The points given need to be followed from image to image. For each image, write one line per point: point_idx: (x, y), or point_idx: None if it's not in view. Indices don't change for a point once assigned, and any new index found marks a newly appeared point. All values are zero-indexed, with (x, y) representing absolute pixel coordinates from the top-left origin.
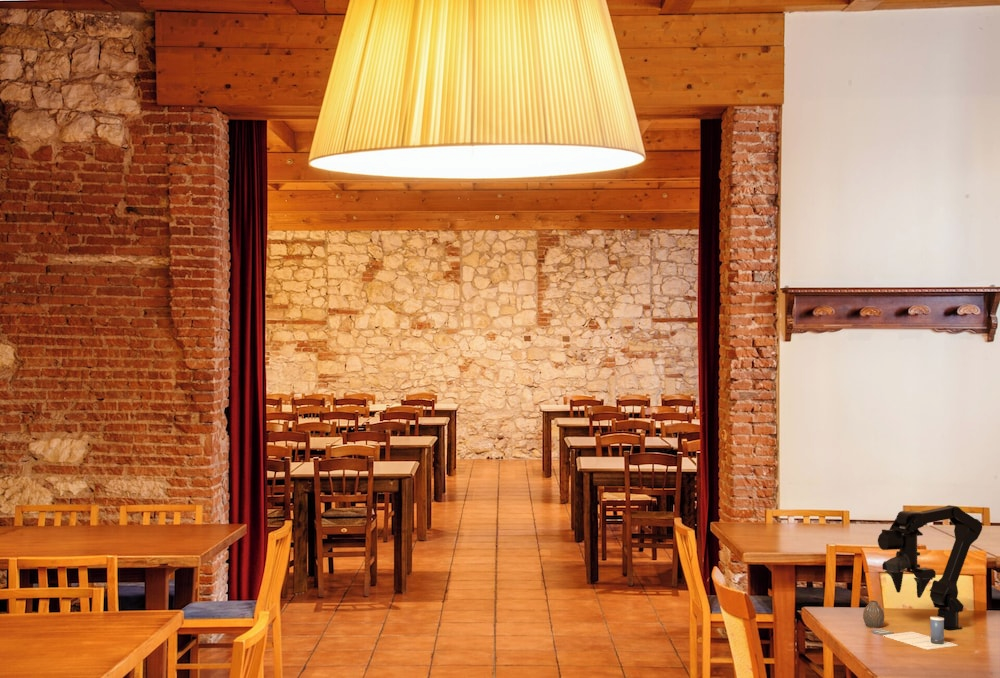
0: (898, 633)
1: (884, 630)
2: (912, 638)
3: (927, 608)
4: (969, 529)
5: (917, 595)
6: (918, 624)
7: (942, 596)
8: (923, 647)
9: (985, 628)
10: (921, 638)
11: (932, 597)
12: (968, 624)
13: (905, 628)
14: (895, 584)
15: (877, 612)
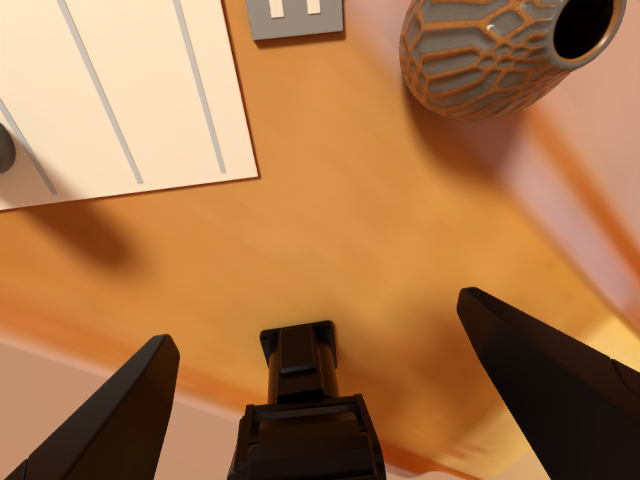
0: (227, 56)
1: (310, 3)
2: (78, 51)
3: None
4: None
5: (150, 349)
6: (379, 288)
7: (256, 475)
8: None
9: None
10: (84, 115)
11: (344, 436)
12: None
13: (342, 197)
14: (550, 346)
15: (443, 6)
